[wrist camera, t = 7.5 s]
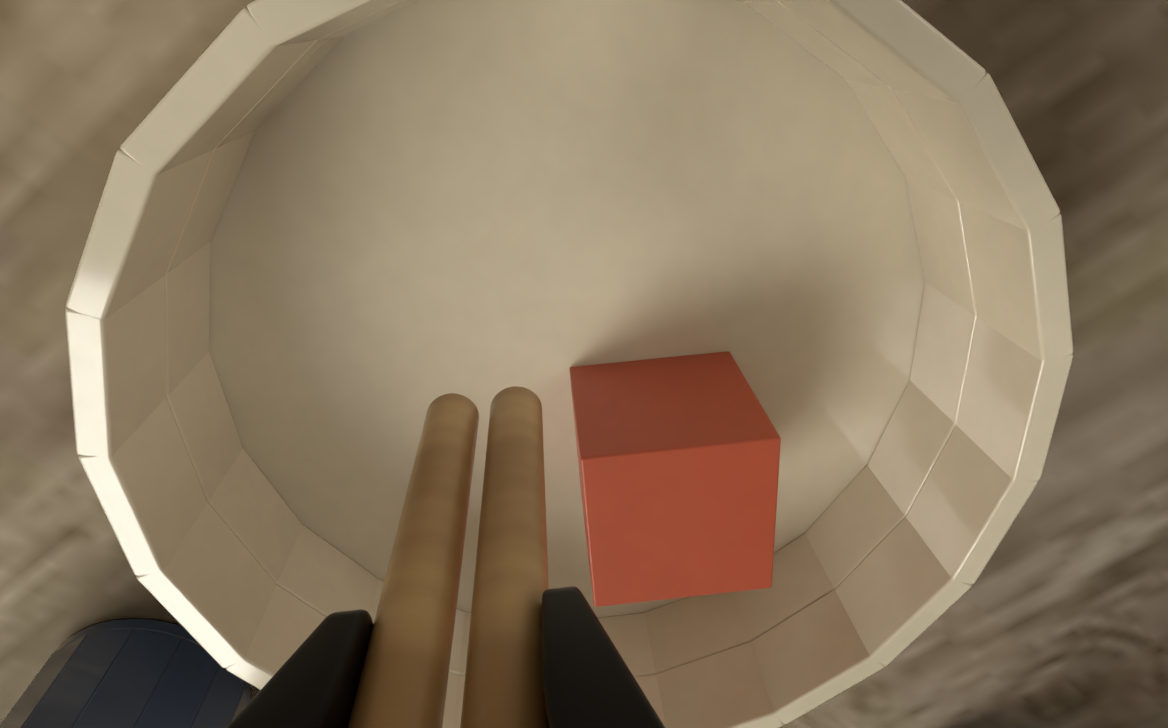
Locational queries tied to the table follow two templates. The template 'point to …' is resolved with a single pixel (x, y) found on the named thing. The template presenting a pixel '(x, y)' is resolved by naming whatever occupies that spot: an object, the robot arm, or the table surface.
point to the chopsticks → (433, 567)
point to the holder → (131, 682)
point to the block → (674, 478)
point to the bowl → (571, 311)
